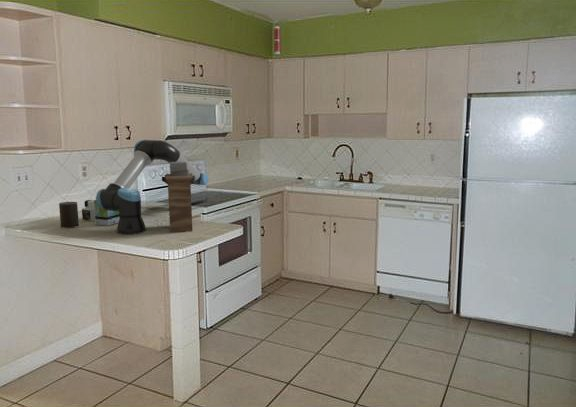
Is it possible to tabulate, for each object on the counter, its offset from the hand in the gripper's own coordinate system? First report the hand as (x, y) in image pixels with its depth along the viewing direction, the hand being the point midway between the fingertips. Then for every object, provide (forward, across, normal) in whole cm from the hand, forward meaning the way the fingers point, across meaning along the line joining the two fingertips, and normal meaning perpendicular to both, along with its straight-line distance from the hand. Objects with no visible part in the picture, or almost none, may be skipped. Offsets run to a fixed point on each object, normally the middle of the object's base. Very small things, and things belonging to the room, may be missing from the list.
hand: (178, 173), depth 303 cm
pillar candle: (-7, +63, -28) cm, 69 cm away
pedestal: (+11, 0, -38) cm, 40 cm away
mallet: (+16, 0, -6) cm, 17 cm away
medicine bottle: (-20, +54, -20) cm, 61 cm away
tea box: (-10, +40, -27) cm, 49 cm away
